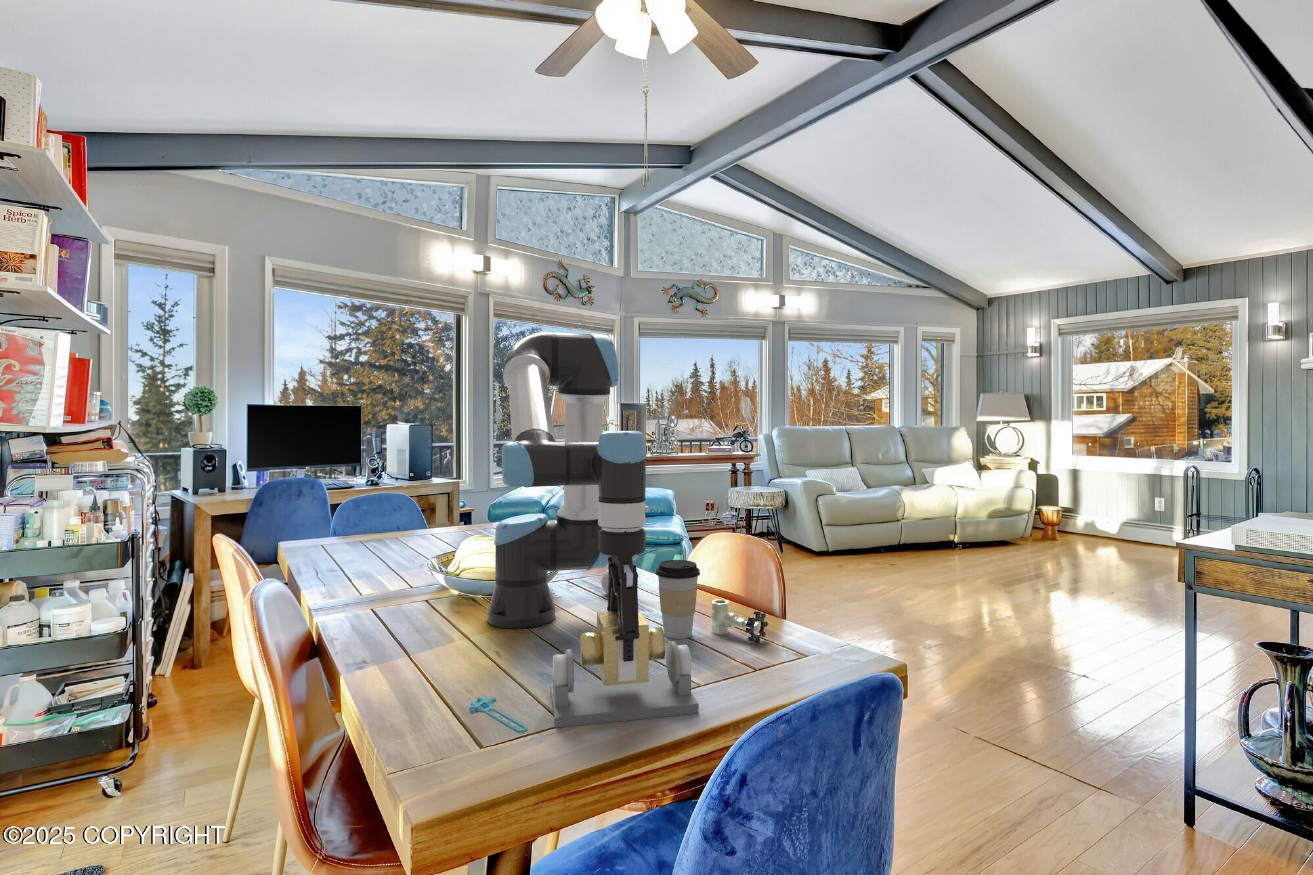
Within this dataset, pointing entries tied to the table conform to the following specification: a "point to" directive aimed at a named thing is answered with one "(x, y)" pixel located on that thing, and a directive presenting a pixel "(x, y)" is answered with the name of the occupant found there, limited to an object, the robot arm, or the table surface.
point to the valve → (736, 621)
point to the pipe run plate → (622, 693)
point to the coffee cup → (677, 596)
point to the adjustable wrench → (486, 706)
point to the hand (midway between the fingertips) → (622, 669)
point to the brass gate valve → (605, 649)
